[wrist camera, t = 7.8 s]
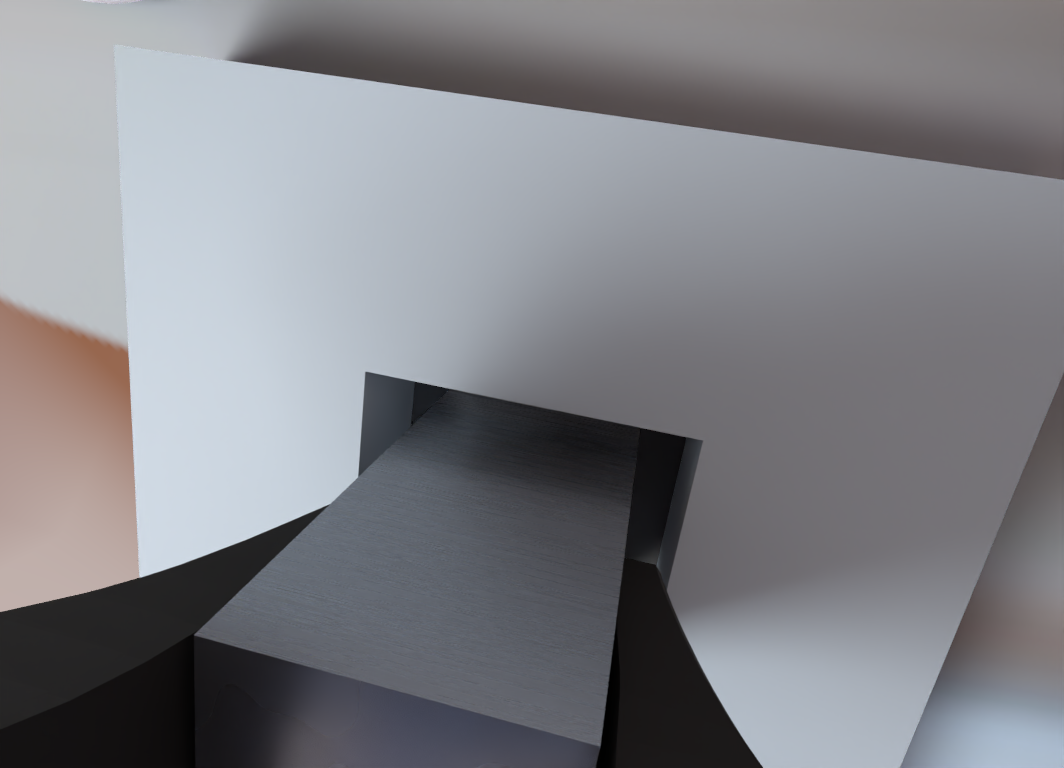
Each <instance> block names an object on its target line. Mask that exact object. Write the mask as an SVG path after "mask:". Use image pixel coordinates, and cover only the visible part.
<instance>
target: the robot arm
mask: <svg viewBox="0 0 1064 768" xmlns="http://www.w3.org/2000/svg"><path fill="white" fill-rule="evenodd" d="M329 505H330V504H329ZM329 505H327V506H324V507H322V508H320V509H317V510H315V511H313V512H310V513H308V514H306V515H303V516H301V517H299V518H296V519H294V520H292V521H289V522H287V523H285V524H282V525H280V526H278V527H275V528H273V529H271V530H268V531H266V532H263V533H261V534H259V535H256V536H254V537H252V538H249V539H247V540H244V541H242V542H239V543H236V544H234V545H231V546H228V547H226V548H223V549H220V550H218V551H215V552H213V553H210V554H207V555H205V556H202V557H199V558H197V559H194V560H191V561H189V562H186V563H183V564H181V565H178V566H175V567H172V568H169V569H166V570H163V571H160V572H156V573H153V574H150V575H147V576H144V577H141V578H137V579H134V580H130V581H127V582H123V583H120V584H117V585H113V586H109V587H106V588H103V589H99V590H95V591H91V592H87V593H84V594H79V595H75V596H70V597H66V598H61V599H57V600H52V601H49V602H44V603H39V604H35V605H31V606H26V607H21V608H17V609H13V610H8V611H4V612H0V768H195V689H194V635H195V634H196V633H197V632H198V631H199V630H200V629H201V628H202V627H203V626H204V625H205V624H206V623H207V622H208V621H209V620H210V619H211V618H212V617H213V616H214V615H215V614H216V613H217V612H219V611H220V610H221V609H222V608H223V607H224V606H225V605H226V604H227V603H228V602H229V601H230V600H231V599H232V598H233V597H234V596H235V595H236V594H237V593H238V592H239V591H240V590H241V589H242V588H243V587H245V586H246V585H247V584H248V583H249V582H250V581H251V580H252V579H253V578H254V577H255V576H256V575H257V574H258V573H259V572H260V571H261V570H262V569H263V568H264V567H265V566H266V565H267V564H268V563H269V562H271V561H272V560H273V559H274V558H275V557H276V556H277V555H278V554H279V553H280V552H281V551H282V550H283V549H284V548H285V547H286V546H287V545H288V544H289V543H290V542H291V541H292V540H293V539H294V538H295V537H296V536H298V535H299V534H300V533H301V532H302V531H303V530H304V529H305V528H306V527H307V526H308V525H309V524H310V523H311V522H312V521H313V520H314V519H315V518H316V517H317V516H318V515H319V514H320V513H321V512H322V511H324V510H325V509H326V508H327V507H328V506H329ZM596 768H763V767H762V765H761V764H760V762H759V761H758V759H757V758H756V757H755V755H754V754H753V752H752V751H751V749H750V748H749V747H748V745H747V744H746V742H745V740H744V739H743V737H742V736H741V734H740V733H739V731H738V730H737V728H736V726H735V725H734V723H733V722H732V720H731V718H730V717H729V715H728V714H727V712H726V710H725V708H724V707H723V705H722V703H721V702H720V700H719V698H718V696H717V695H716V693H715V691H714V690H713V688H712V686H711V684H710V682H709V681H708V679H707V677H706V675H705V673H704V671H703V669H702V668H701V666H700V664H699V662H698V659H697V657H696V655H695V653H694V651H693V649H692V647H691V645H690V643H689V641H688V639H687V637H686V635H685V633H684V631H683V629H682V626H681V624H680V622H679V620H678V617H677V615H676V613H675V610H674V608H673V606H672V603H671V600H670V598H669V595H668V593H667V590H666V587H665V584H664V581H663V578H662V575H661V573H660V571H659V570H658V568H657V566H656V565H654V564H649V563H645V562H641V561H636V560H632V559H628V558H624V562H623V570H622V578H621V586H620V594H619V602H618V610H617V618H616V626H615V634H614V642H613V650H612V658H611V666H610V674H609V682H608V690H607V698H606V706H605V714H604V722H603V730H602V738H601V746H600V751H599V755H598V759H597V764H596Z"/></svg>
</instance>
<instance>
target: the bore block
mask: <svg viewBox="0 0 1064 768" xmlns="http://www.w3.org/2000/svg"><path fill="white" fill-rule="evenodd" d="M114 62H115V82H116V103H117V124H118V144H119V165H120V185H121V206H122V226H123V247H124V267H125V288H126V308H127V329H128V350H129V369H130V390H131V411H132V431H133V451H134V471H135V493H136V514H137V534H138V554H139V576H140V578H141V577H144V576H147V575H150V574H153V573H156V572H160V571H163V570H166V569H169V568H172V567H175V566H178V565H181V564H183V563H186V562H189V561H191V560H194V559H197V558H199V557H202V556H205V555H207V554H210V553H213V552H215V551H218V550H220V549H223V548H226V547H228V546H231V545H234V544H236V543H239V542H242V541H244V540H247V539H249V538H252V537H254V536H256V535H259V534H261V533H263V532H266V531H268V530H271V529H273V528H275V527H278V526H280V525H282V524H285V523H287V522H289V521H292V520H294V519H296V518H299V517H301V516H303V515H306V514H308V513H310V512H313V511H315V510H317V509H320V508H322V507H324V506H327V505H329V504H331V503H332V502H333V501H334V500H335V499H336V498H337V497H338V496H339V495H340V494H341V493H342V492H343V491H344V490H345V489H346V488H347V487H348V486H350V485H351V484H352V483H353V482H354V481H355V480H356V479H357V478H358V477H359V476H360V475H361V474H362V473H363V472H364V471H365V470H366V469H367V468H368V467H369V466H370V465H371V464H372V463H373V462H374V461H376V460H377V459H378V458H379V457H380V456H381V455H382V454H383V453H384V452H385V451H386V450H387V449H388V448H389V447H390V446H391V445H392V444H393V443H394V442H395V441H396V440H397V439H398V438H399V437H400V436H402V435H403V434H404V433H405V432H406V431H407V430H408V429H409V428H410V427H411V418H412V407H413V396H414V386H415V382H420V383H425V384H429V385H434V386H439V387H444V388H449V389H454V390H459V391H464V392H468V393H473V394H478V395H483V396H488V397H493V398H498V399H503V400H508V401H512V402H517V403H522V404H527V405H532V406H537V407H542V408H547V409H551V410H556V411H561V412H566V413H571V414H576V415H581V416H586V417H590V418H595V419H600V420H605V421H610V422H615V423H620V424H625V425H630V426H634V427H639V428H644V429H649V430H654V431H659V432H664V433H669V434H673V435H678V436H683V437H686V442H685V446H684V450H683V454H682V459H681V463H680V467H679V471H678V476H677V480H676V484H675V488H674V493H673V497H672V501H671V505H670V510H669V514H668V518H667V522H666V527H665V531H664V535H663V539H662V544H661V548H660V552H659V556H658V561H657V565H656V566H657V568H658V570H659V571H660V573H661V575H662V578H663V581H664V584H665V587H666V590H667V593H668V595H669V598H670V600H671V603H672V606H673V608H674V610H675V613H676V615H677V617H678V620H679V622H680V624H681V626H682V629H683V631H684V633H685V635H686V637H687V639H688V641H689V643H690V645H691V647H692V649H693V651H694V653H695V655H696V657H697V659H698V662H699V664H700V666H701V668H702V669H703V671H704V673H705V675H706V677H707V679H708V681H709V682H710V684H711V686H712V688H713V690H714V691H715V693H716V695H717V696H718V698H719V700H720V702H721V703H722V705H723V707H724V708H725V710H726V712H727V714H728V715H729V717H730V718H731V720H732V722H733V723H734V725H735V726H736V728H737V730H738V731H739V733H740V734H741V736H742V737H743V739H744V740H745V742H746V744H747V745H748V747H749V748H750V749H751V751H752V752H753V754H754V755H755V757H756V758H757V759H758V761H759V762H760V764H761V765H762V767H763V768H900V766H901V764H902V762H903V759H904V757H905V754H906V752H907V750H908V747H909V745H910V742H911V740H912V737H913V735H914V733H915V730H916V728H917V725H918V723H919V721H920V718H921V716H922V713H923V711H924V709H925V706H926V704H927V701H928V699H929V696H930V694H931V692H932V689H933V687H934V684H935V682H936V680H937V677H938V675H939V672H940V670H941V668H942V665H943V663H944V660H945V658H946V656H947V653H948V651H949V648H950V646H951V643H952V641H953V639H954V636H955V634H956V631H957V629H958V627H959V624H960V622H961V619H962V617H963V615H964V612H965V610H966V607H967V605H968V602H969V600H970V598H971V595H972V593H973V590H974V588H975V586H976V583H977V581H978V578H979V576H980V574H981V571H982V569H983V566H984V564H985V561H986V559H987V557H988V554H989V552H990V549H991V547H992V545H993V542H994V540H995V537H996V535H997V533H998V530H999V528H1000V525H1001V523H1002V520H1003V518H1004V516H1005V513H1006V511H1007V508H1008V506H1009V504H1010V501H1011V499H1012V496H1013V494H1014V492H1015V489H1016V487H1017V484H1018V482H1019V480H1020V477H1021V475H1022V472H1023V470H1024V467H1025V465H1026V463H1027V460H1028V458H1029V455H1030V453H1031V451H1032V448H1033V446H1034V443H1035V441H1036V439H1037V436H1038V434H1039V431H1040V429H1041V426H1042V424H1043V422H1044V419H1045V417H1046V414H1047V412H1048V410H1049V407H1050V405H1051V402H1052V400H1053V398H1054V395H1055V393H1056V390H1057V388H1058V385H1059V383H1060V381H1061V378H1062V376H1063V373H1064V180H1062V179H1055V178H1048V177H1041V176H1034V175H1027V174H1019V173H1012V172H1005V171H998V170H991V169H984V168H977V167H970V166H963V165H956V164H949V163H942V162H935V161H928V160H921V159H914V158H907V157H900V156H893V155H886V154H879V153H872V152H865V151H858V150H851V149H844V148H837V147H830V146H823V145H816V144H809V143H802V142H795V141H788V140H781V139H774V138H767V137H760V136H753V135H746V134H739V133H732V132H725V131H718V130H711V129H704V128H697V127H690V126H683V125H676V124H669V123H662V122H654V121H647V120H640V119H633V118H626V117H619V116H612V115H605V114H598V113H591V112H584V111H577V110H570V109H563V108H556V107H549V106H542V105H535V104H528V103H521V102H514V101H507V100H500V99H493V98H486V97H479V96H472V95H465V94H458V93H451V92H444V91H437V90H430V89H423V88H416V87H409V86H402V85H395V84H388V83H381V82H374V81H367V80H360V79H353V78H346V77H339V76H332V75H325V74H318V73H311V72H304V71H297V70H290V69H283V68H275V67H268V66H261V65H254V64H247V63H240V62H233V61H226V60H219V59H212V58H205V57H198V56H191V55H184V54H177V53H170V52H163V51H156V50H149V49H142V48H135V47H128V46H121V45H114Z"/></svg>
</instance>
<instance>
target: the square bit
mask: <svg viewBox="0 0 1064 768" xmlns="http://www.w3.org/2000/svg"><path fill="white" fill-rule="evenodd" d="M639 434H640V428H639V427H634V426H630V425H625V424H620V423H615V422H610V421H605V420H600V419H595V418H590V417H586V416H581V415H576V414H571V413H566V412H561V411H556V410H551V409H547V408H542V407H537V406H532V405H527V404H522V403H517V402H512V401H508V400H503V399H498V398H493V397H488V396H483V395H478V394H473V393H468V392H464V391H459V390H454V389H449V390H448V391H447V392H446V393H445V394H444V395H443V396H442V397H441V398H440V399H439V400H438V401H437V402H436V403H435V404H434V405H433V406H432V407H431V408H430V409H429V410H428V411H426V412H425V413H424V414H423V415H422V416H421V417H420V418H419V419H418V420H417V421H416V422H415V423H414V424H413V425H412V426H411V427H410V428H409V429H408V430H407V431H406V432H405V433H404V434H403V435H402V436H400V437H399V438H398V439H397V440H396V441H395V442H394V443H393V444H392V445H391V446H390V447H389V448H388V449H387V450H386V451H385V452H384V453H383V454H382V455H381V456H380V457H379V458H378V459H377V460H376V461H374V462H373V463H372V464H371V465H370V466H369V467H368V468H367V469H366V470H365V471H364V472H363V473H362V474H361V475H360V476H359V477H358V478H357V479H356V480H355V481H354V482H353V483H352V484H351V485H350V486H348V487H347V488H346V489H345V490H344V491H343V492H342V493H341V494H340V495H339V496H338V497H337V498H336V499H335V500H334V501H333V502H332V503H331V504H330V505H329V506H328V507H327V508H326V509H325V510H324V511H322V512H321V513H320V514H319V515H318V516H317V517H316V518H315V519H314V520H313V521H312V522H311V523H310V524H309V525H308V526H307V527H306V528H305V529H304V530H303V531H302V532H301V533H300V534H299V535H298V536H296V537H295V538H294V539H293V540H292V541H291V542H290V543H289V544H288V545H287V546H286V547H285V548H284V549H283V550H282V551H281V552H280V553H279V554H278V555H277V556H276V557H275V558H274V559H273V560H272V561H271V562H269V563H268V564H267V565H266V566H265V567H264V568H263V569H262V570H261V571H260V572H259V573H258V574H257V575H256V576H255V577H254V578H253V579H252V580H251V581H250V582H249V583H248V584H247V585H246V586H245V587H243V588H242V589H241V590H240V591H239V592H238V593H237V594H236V595H235V596H234V597H233V598H232V599H231V600H230V601H229V602H228V603H227V604H226V605H225V606H224V607H223V608H222V609H221V610H220V611H219V612H217V613H216V614H215V615H214V616H213V617H212V618H211V619H210V620H209V621H208V622H207V623H206V624H205V625H204V626H203V627H202V628H201V629H200V630H199V631H198V632H197V633H196V634H195V635H194V689H195V768H596V764H597V759H598V755H599V751H600V746H601V738H602V730H603V722H604V714H605V706H606V698H607V690H608V682H609V674H610V666H611V658H612V650H613V642H614V634H615V626H616V618H617V610H618V602H619V594H620V586H621V578H622V570H623V562H624V554H625V546H626V538H627V530H628V522H629V514H630V506H631V498H632V490H633V482H634V474H635V466H636V458H637V450H638V442H639Z"/></svg>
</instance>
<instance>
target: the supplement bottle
mask: <svg viewBox="0 0 1064 768" xmlns="http://www.w3.org/2000/svg"><path fill="white" fill-rule="evenodd" d="M83 1H89V2H97V3H109V4H119V3H132V2H138V1H143V0H83Z"/></svg>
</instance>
